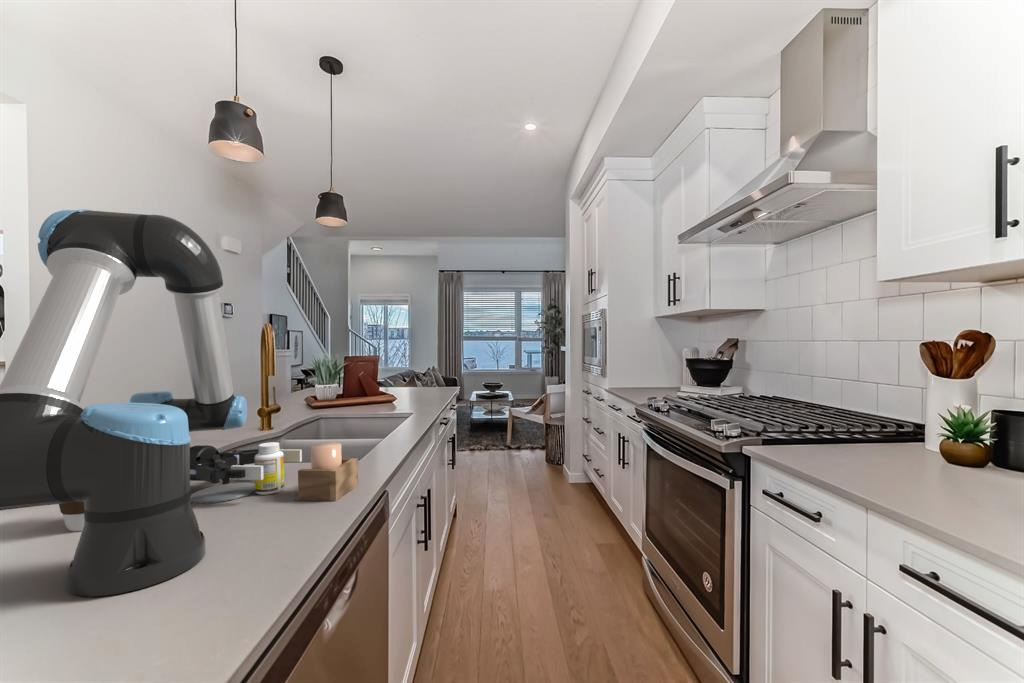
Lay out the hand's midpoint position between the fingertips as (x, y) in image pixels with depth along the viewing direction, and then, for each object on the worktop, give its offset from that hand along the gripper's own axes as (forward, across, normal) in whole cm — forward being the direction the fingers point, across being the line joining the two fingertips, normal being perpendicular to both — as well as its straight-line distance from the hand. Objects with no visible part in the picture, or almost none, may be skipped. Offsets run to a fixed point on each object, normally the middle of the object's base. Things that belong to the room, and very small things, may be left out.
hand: (283, 463), depth 97 cm
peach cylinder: (+10, 0, -6) cm, 12 cm away
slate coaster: (-12, +2, -6) cm, 14 cm away
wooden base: (+10, 0, -6) cm, 12 cm away
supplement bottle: (-3, 0, -6) cm, 7 cm away
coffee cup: (-24, +19, -6) cm, 31 cm away
